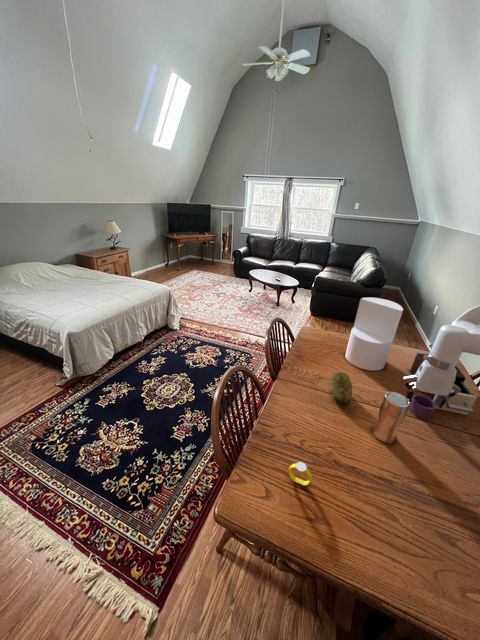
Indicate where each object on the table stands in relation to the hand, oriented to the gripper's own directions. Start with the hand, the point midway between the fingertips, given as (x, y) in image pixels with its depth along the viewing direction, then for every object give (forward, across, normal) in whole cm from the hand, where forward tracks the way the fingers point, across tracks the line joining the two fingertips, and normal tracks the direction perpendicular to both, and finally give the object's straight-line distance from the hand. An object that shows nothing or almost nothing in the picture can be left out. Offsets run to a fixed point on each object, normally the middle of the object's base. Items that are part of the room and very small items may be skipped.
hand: (423, 402), depth 95 cm
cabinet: (+4, +10, +20) cm, 23 cm away
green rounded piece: (+5, -28, -1) cm, 28 cm away
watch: (+5, -40, -40) cm, 56 cm away
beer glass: (+5, -15, -16) cm, 22 cm away
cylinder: (+5, -15, +30) cm, 34 cm away
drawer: (+3, +10, +7) cm, 13 cm away
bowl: (+4, 0, 0) cm, 4 cm away
